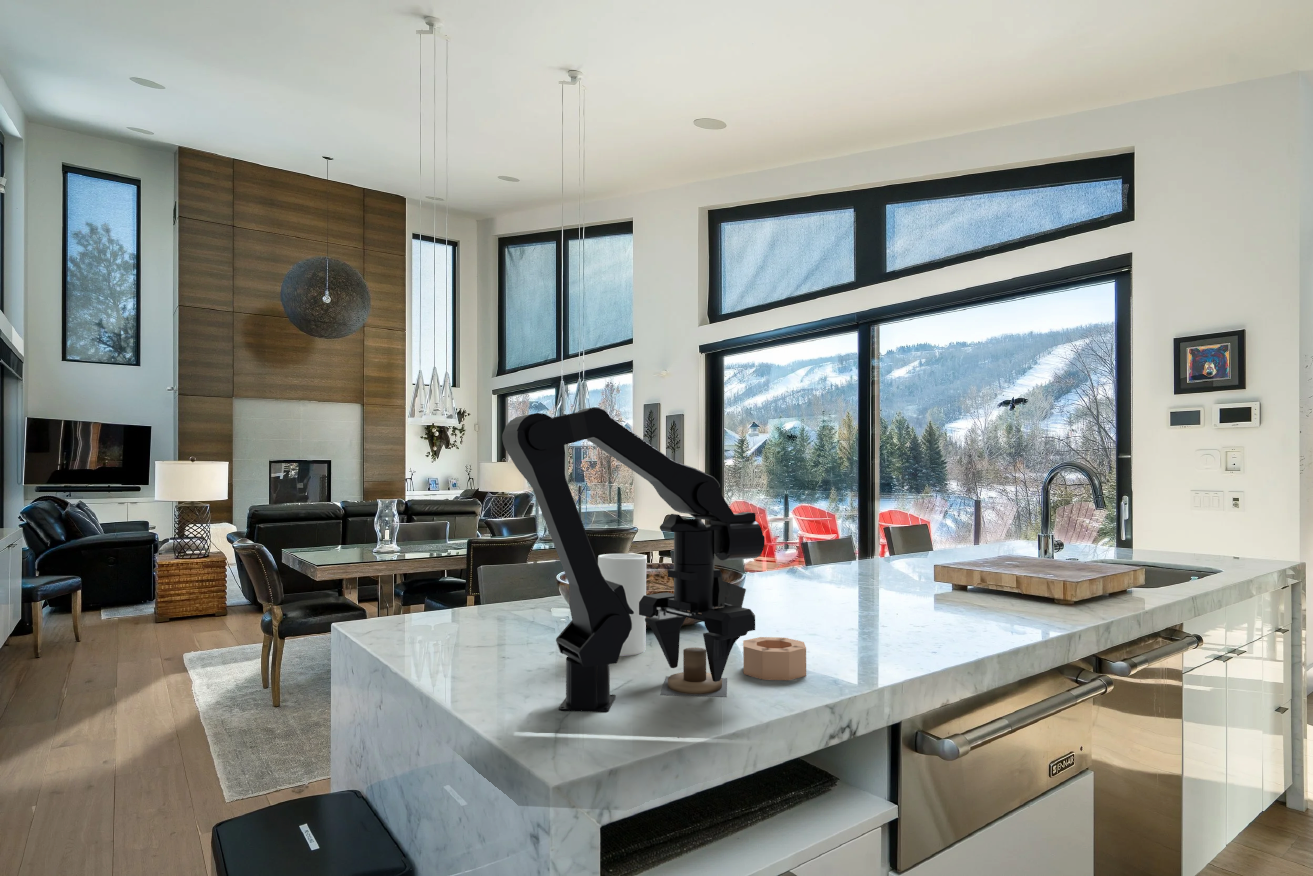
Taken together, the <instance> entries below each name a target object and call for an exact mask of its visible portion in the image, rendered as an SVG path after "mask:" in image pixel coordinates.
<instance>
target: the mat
mask: <svg viewBox="0 0 1313 876" xmlns="http://www.w3.org/2000/svg"><path fill="white" fill-rule="evenodd" d="M668 677H669V676H667V675H665V678H664V680H663V684H662V688H661V690H660V693H659V696H670V697H671V696H672V697H673V696H675V697H676V696H677V697H707V698H709V697H712V698H713V697H714V698H727V697H728V677H721V678H722V688H721V689H720V690H718V691H716V692H713V693H707V694H685V693H679V692H675V691H673V690H671V689H669V688H668Z"/></svg>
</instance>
